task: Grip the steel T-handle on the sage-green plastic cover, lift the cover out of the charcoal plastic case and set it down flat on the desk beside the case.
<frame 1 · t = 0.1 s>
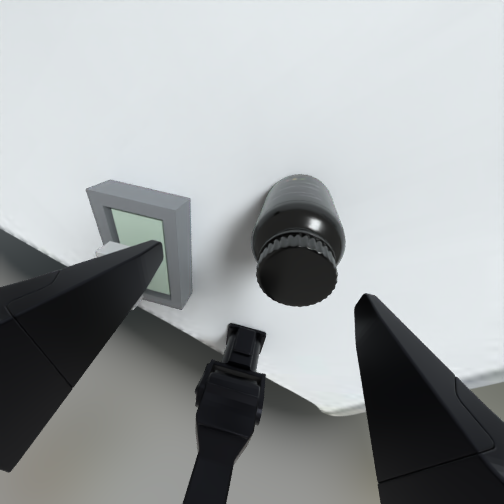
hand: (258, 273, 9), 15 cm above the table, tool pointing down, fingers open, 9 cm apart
supplement bottle: (297, 204, 22), on the table
case: (157, 244, 29), on the table
cover: (148, 252, 28), point 2 cm above the table, touching case
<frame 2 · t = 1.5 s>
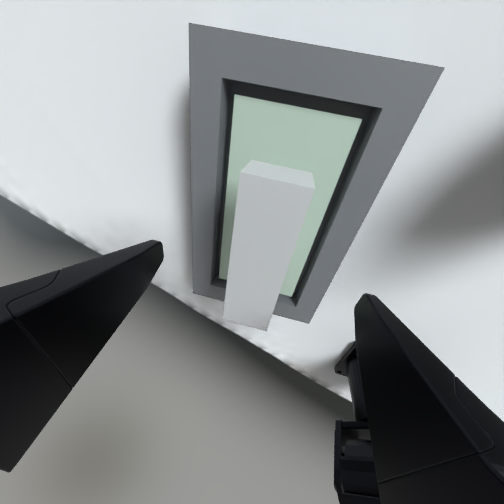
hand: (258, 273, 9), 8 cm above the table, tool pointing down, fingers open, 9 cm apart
case: (275, 203, 16), on the table
cover: (272, 214, 14), point 2 cm above the table, touching case
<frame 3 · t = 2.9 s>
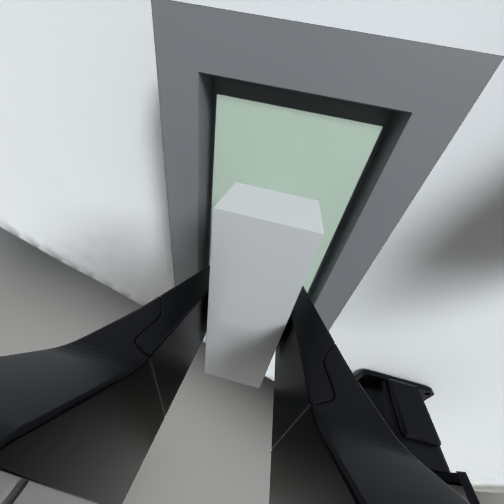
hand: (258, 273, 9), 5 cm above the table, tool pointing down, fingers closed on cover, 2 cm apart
case: (271, 221, 13), on the table
cover: (267, 237, 12), point 2 cm above the table, touching case, gripper
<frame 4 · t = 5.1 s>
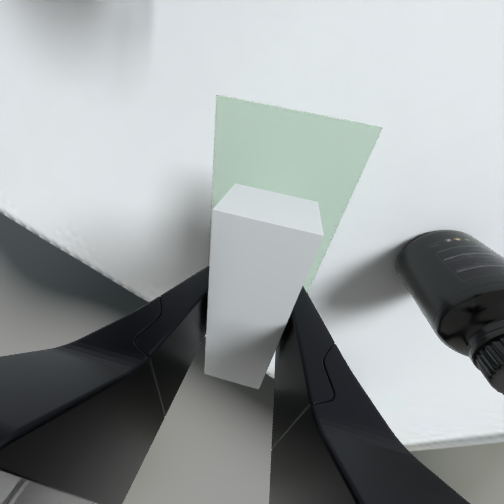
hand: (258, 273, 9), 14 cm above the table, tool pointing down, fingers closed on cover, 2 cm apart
supplement bottle: (432, 256, 21), on the table
cover: (267, 237, 12), point 10 cm above the table, touching gripper
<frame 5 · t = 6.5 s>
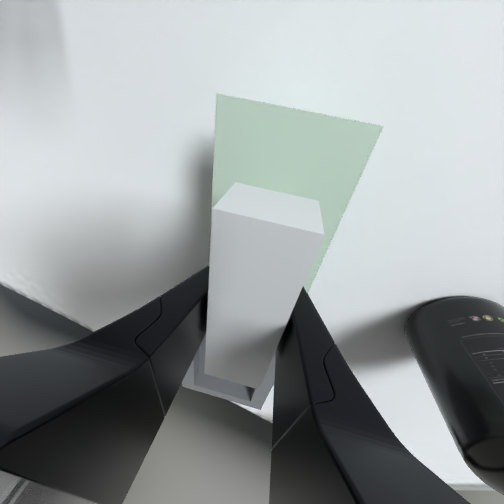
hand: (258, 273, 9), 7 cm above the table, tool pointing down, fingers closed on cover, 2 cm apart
supplement bottle: (450, 321, 17), on the table
case: (235, 336, 24), on the table
cover: (267, 237, 12), point 3 cm above the table, touching gripper
when the fingers open (5 cm above the table, at t = 7.5 s): cover drops 2 cm, on the table.
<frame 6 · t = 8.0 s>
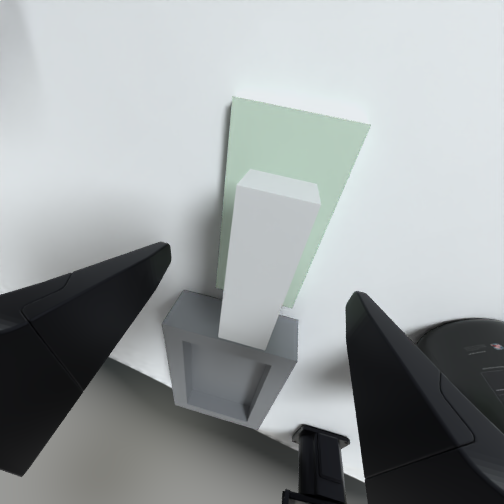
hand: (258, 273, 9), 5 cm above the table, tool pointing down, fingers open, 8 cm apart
supplement bottle: (464, 343, 16), on the table
case: (230, 353, 22), on the table
cover: (272, 223, 13), on the table
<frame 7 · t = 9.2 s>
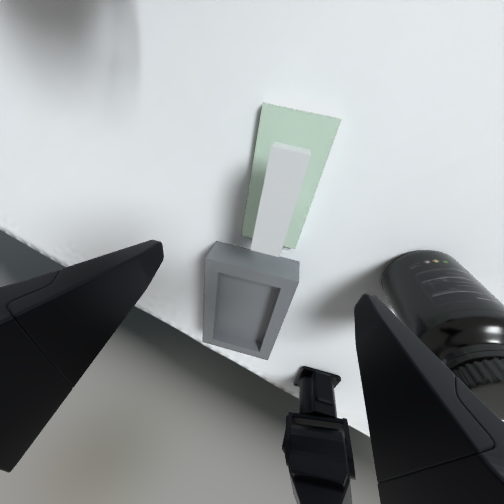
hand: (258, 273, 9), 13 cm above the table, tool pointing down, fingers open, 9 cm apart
supplement bottle: (415, 273, 22), on the table
case: (247, 297, 29), on the table
cover: (282, 185, 20), on the table
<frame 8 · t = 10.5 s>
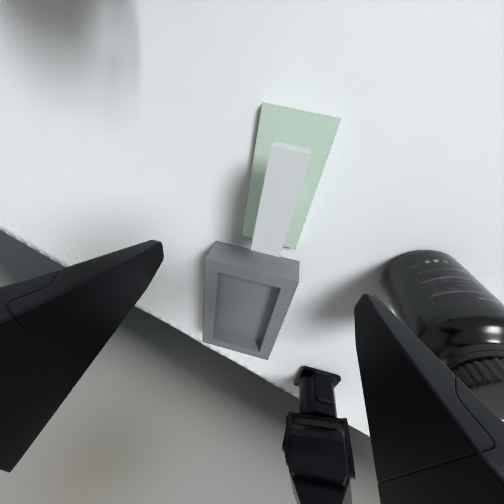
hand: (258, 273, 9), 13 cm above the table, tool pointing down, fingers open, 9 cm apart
supplement bottle: (415, 272, 22), on the table
case: (247, 297, 29), on the table
cover: (282, 185, 20), on the table
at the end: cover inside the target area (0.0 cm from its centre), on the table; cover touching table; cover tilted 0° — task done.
